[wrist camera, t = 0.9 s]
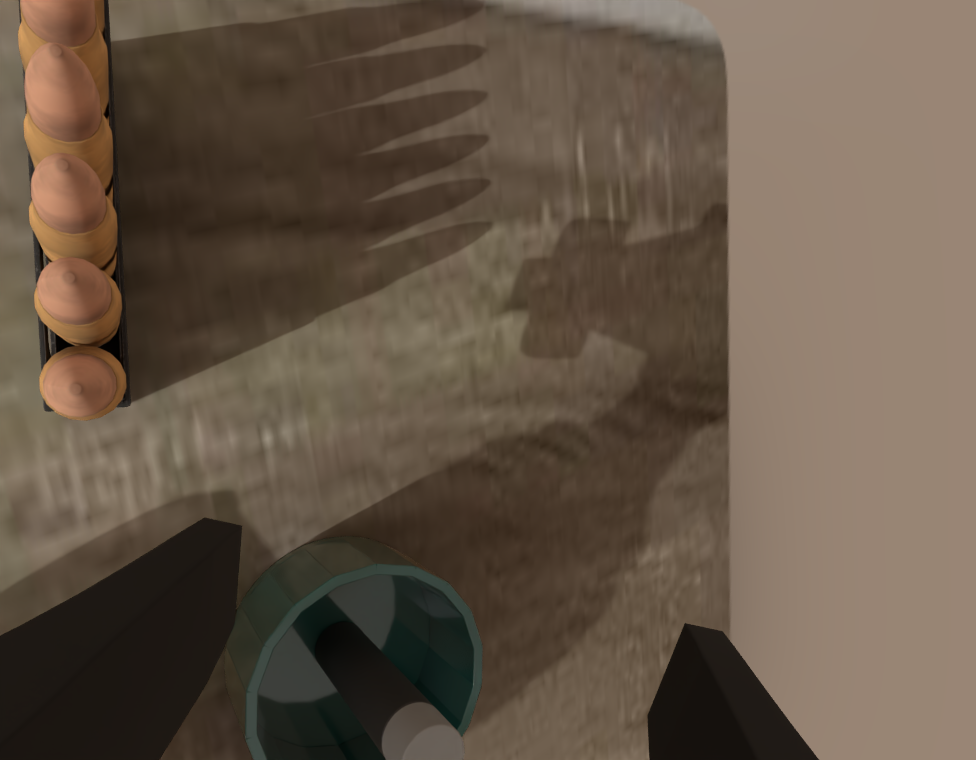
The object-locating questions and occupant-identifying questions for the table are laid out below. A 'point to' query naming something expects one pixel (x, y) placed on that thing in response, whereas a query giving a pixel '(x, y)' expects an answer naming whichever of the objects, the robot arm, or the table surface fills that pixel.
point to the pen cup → (383, 619)
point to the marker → (385, 698)
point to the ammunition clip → (75, 206)
